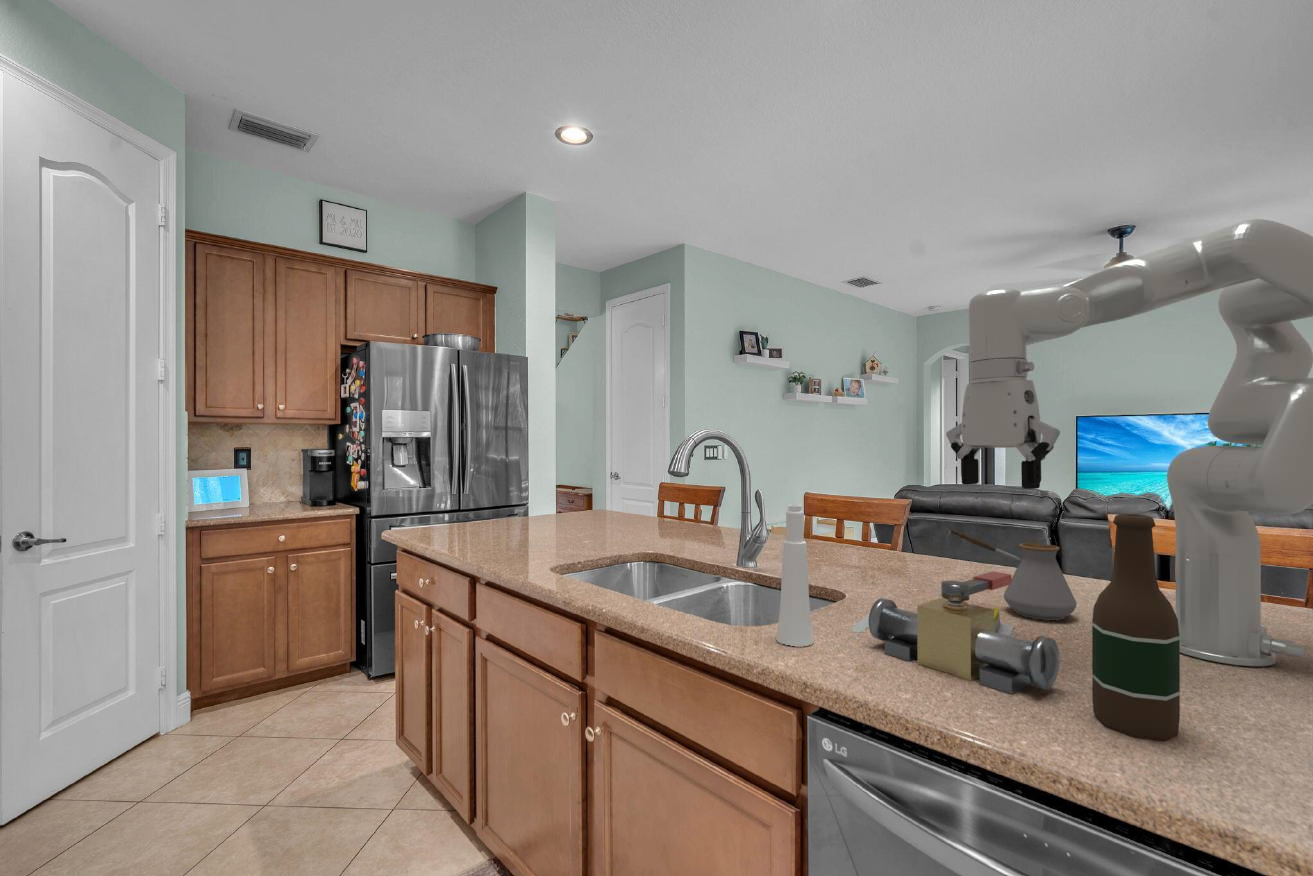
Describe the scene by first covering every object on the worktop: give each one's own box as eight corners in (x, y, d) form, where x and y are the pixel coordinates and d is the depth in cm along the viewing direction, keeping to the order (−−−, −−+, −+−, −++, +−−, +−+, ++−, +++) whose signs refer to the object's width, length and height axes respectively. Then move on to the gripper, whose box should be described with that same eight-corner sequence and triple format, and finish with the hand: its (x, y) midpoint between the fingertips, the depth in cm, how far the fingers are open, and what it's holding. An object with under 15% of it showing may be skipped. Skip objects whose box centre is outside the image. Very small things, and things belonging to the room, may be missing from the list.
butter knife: (843, 629, 102) (861, 631, 100) (876, 596, 125) (891, 597, 123) (844, 632, 102) (862, 635, 100) (876, 598, 125) (891, 600, 123)
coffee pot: (1072, 611, 113) (1072, 532, 113) (1081, 627, 103) (1081, 541, 103) (947, 597, 123) (947, 524, 123) (944, 610, 113) (944, 532, 113)
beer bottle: (1075, 710, 71) (1075, 511, 72) (1135, 708, 72) (1135, 510, 72) (1132, 743, 64) (1132, 519, 64) (1199, 740, 64) (1198, 519, 64)
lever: (1014, 585, 93) (1014, 572, 93) (961, 602, 83) (961, 588, 83) (990, 580, 96) (990, 568, 96) (936, 596, 86) (936, 583, 86)
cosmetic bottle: (803, 633, 100) (803, 502, 100) (820, 645, 94) (820, 506, 94) (769, 636, 99) (769, 503, 99) (785, 648, 93) (785, 507, 93)
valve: (1060, 688, 78) (1060, 615, 78) (1037, 702, 74) (1037, 625, 74) (892, 639, 97) (892, 581, 97) (867, 648, 93) (867, 587, 93)
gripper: (1072, 368, 84) (1074, 489, 84) (963, 379, 100) (964, 481, 100) (1039, 365, 81) (1041, 491, 81) (931, 378, 97) (933, 483, 96)
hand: (999, 486), depth 90 cm, fingers open, 9 cm apart
